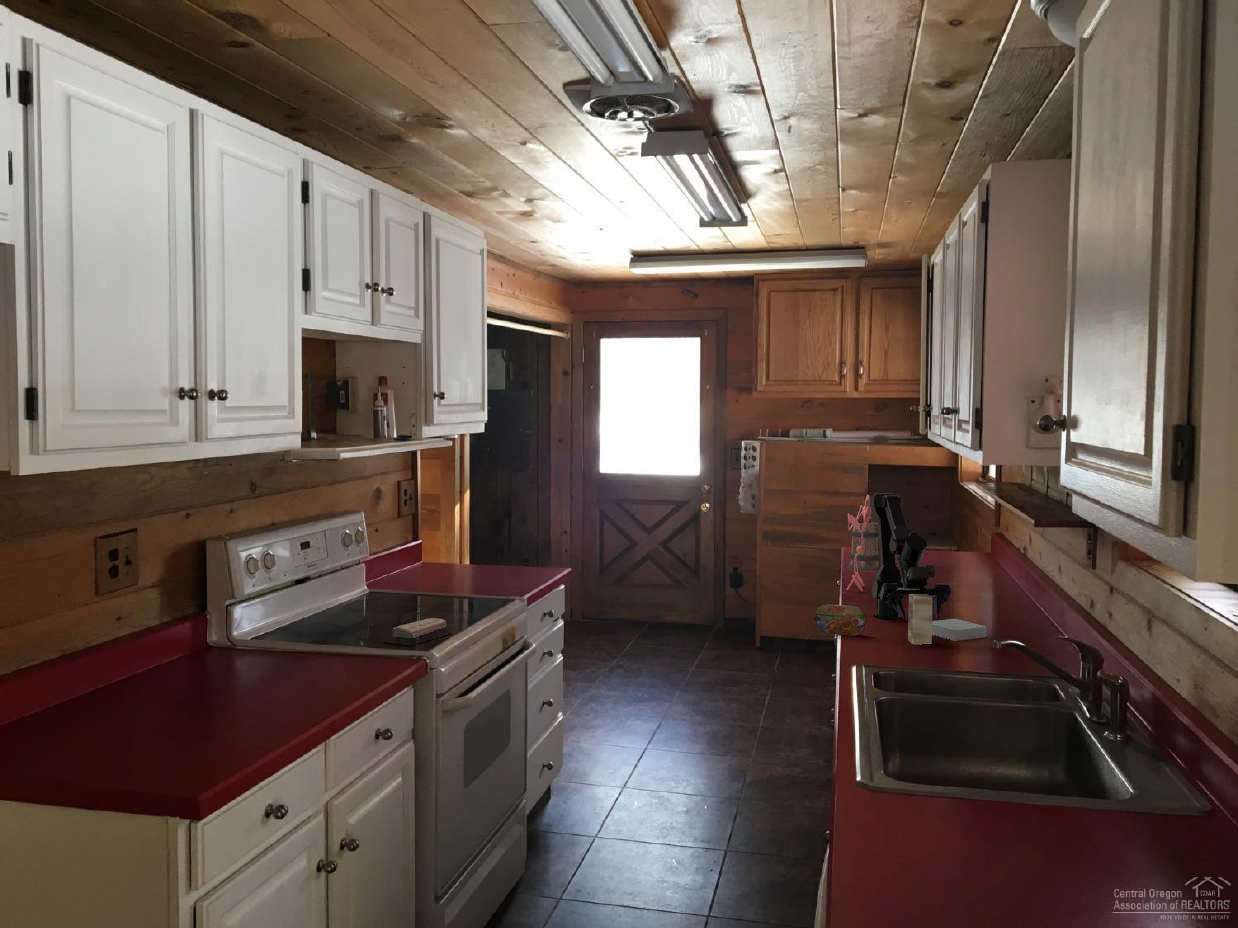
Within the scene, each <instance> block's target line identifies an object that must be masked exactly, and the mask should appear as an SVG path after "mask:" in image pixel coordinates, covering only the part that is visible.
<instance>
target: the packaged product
mask: <svg viewBox="0 0 1238 928" xmlns="http://www.w3.org/2000/svg"><path fill="white" fill-rule="evenodd" d="M446 626H447V627H448V625H447V620H445V619H444V618H437V617H430V618H425V619H421V620H417V621H413V622H409V623H406V624H402V625H401V624H400V625H398V626H395V627H393V628H392V629H391V630H392V631H391V632H392V633H391V634H392V636H393V637H403V638H416V637H418V636H420V635H424V634H428V633H430V632H433V631H435V630H438V629H442V628H445V627H446Z"/></svg>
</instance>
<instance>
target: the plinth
mask: <svg viewBox="0 0 1238 928" xmlns="http://www.w3.org/2000/svg"><path fill="white" fill-rule="evenodd" d="M987 632H988V631H987V626H986V625H981V624H977V623H975V622H974V623H973V622H970V621H966V620H961V619H958V618H949V619H947V618H946V619H941V620H932V636H935V635H936V636H935V637H938V636H939V638H942V639H946V638H947V639H946V640H949V639H950V640H949V641H953V642H957V641H965V640H967V641H968V640H973V639H974V640H975V639H980V638H986V637H987Z"/></svg>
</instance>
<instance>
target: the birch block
mask: <svg viewBox="0 0 1238 928" xmlns="http://www.w3.org/2000/svg"><path fill="white" fill-rule="evenodd" d="M907 620H908V624H907V625H908V626H907V628H908V630H907V632H908V633H907V641H909V642H910V643H911V644H912V645H922V644H932V643H933V642H932V641H933V639H932V638H933V635H932V621H933V600H932V596H929V595H927V594H909V595H908V619H907ZM932 645H933V644H932Z"/></svg>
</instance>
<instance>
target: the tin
mask: <svg viewBox="0 0 1238 928" xmlns="http://www.w3.org/2000/svg"><path fill="white" fill-rule="evenodd" d="M813 622H814V625H815V627H816V629H817V630H818V631H820V632H821V633H823V634H827V635H828V634H829V635H838V636H846V637H847V636H848V637H849V636H850V637H854V636H858V635H860V634H862V633H863V632H864V631H865V630H866V628H867V624H868V617H867V615H866V613H865V612H864V610H863V609H861V608H860V607H858V606H853V605H841V604H840V605H839V604H822V605H820V606H819V607H818V608H817V609H816V610H815V612H814V615H813Z"/></svg>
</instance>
